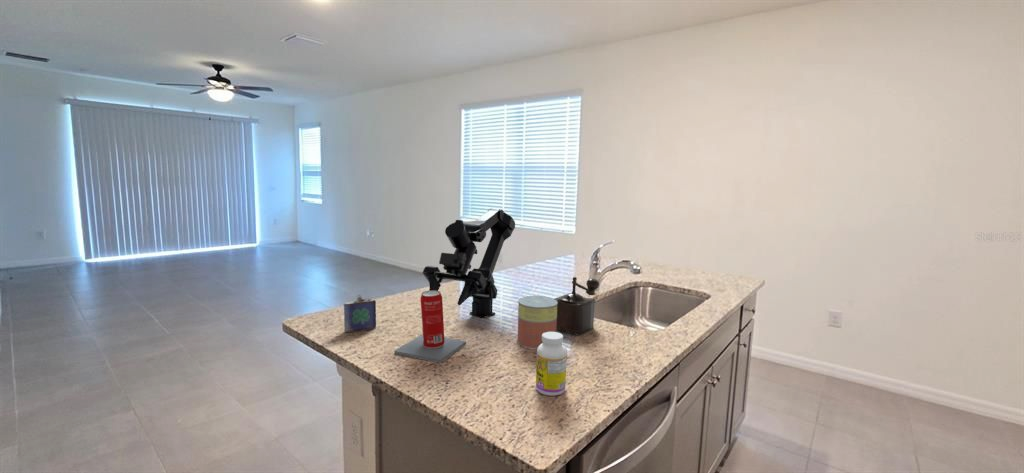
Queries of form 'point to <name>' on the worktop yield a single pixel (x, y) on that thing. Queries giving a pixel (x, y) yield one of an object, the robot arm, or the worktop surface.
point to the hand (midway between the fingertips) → (444, 302)
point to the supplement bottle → (551, 364)
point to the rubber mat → (436, 354)
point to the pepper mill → (576, 309)
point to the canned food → (535, 319)
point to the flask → (359, 315)
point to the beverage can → (432, 319)
